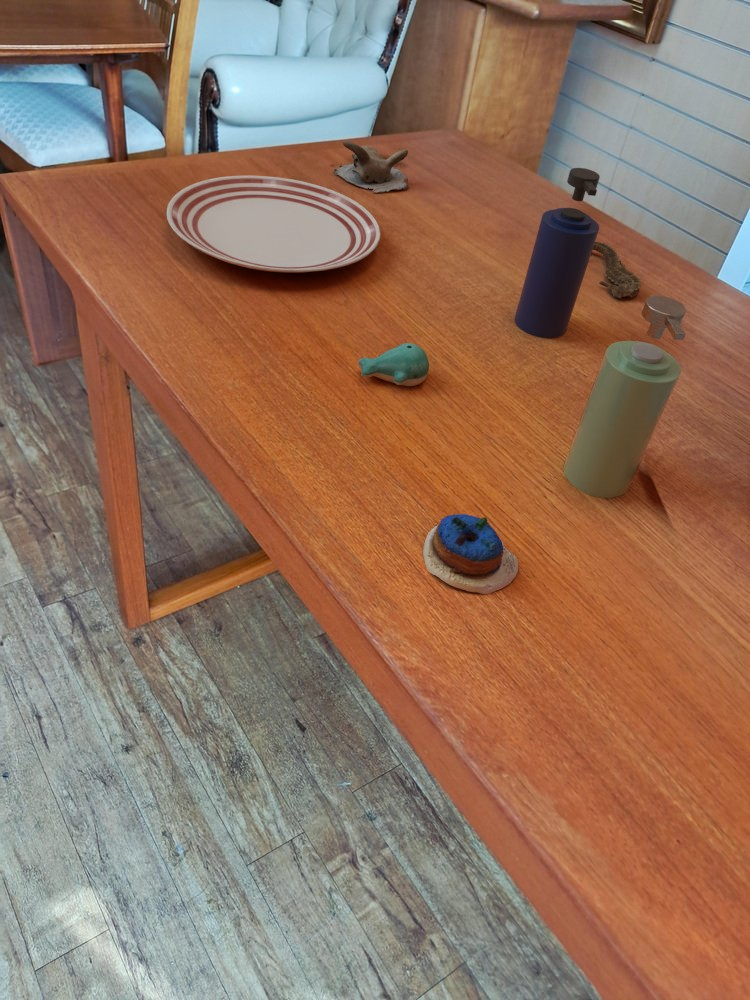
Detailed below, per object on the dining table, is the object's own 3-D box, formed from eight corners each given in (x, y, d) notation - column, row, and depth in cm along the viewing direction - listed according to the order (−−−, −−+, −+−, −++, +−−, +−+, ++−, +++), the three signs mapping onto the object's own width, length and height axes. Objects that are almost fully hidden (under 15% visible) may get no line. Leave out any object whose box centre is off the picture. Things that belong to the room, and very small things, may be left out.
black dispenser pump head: (588, 195, 87) (595, 169, 85) (600, 216, 83) (609, 189, 81) (560, 191, 87) (567, 166, 85) (571, 213, 83) (579, 186, 81)
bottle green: (619, 456, 78) (671, 333, 69) (637, 500, 74) (696, 375, 64) (556, 452, 78) (601, 327, 68) (571, 496, 73) (621, 368, 64)
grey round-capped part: (666, 327, 67) (678, 297, 65) (688, 363, 63) (702, 332, 61) (630, 323, 66) (641, 293, 64) (649, 360, 62) (662, 329, 60)
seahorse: (601, 248, 114) (604, 236, 113) (648, 301, 104) (652, 288, 103) (565, 251, 113) (568, 239, 112) (609, 304, 103) (613, 291, 102)
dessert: (402, 558, 64) (439, 494, 62) (426, 552, 70) (460, 494, 69) (486, 613, 61) (526, 548, 60) (503, 602, 67) (539, 543, 66)
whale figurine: (430, 393, 82) (437, 363, 80) (361, 392, 81) (365, 361, 79) (420, 362, 87) (426, 332, 84) (354, 361, 85) (358, 330, 83)
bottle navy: (560, 313, 99) (594, 203, 89) (571, 340, 94) (608, 227, 85) (510, 308, 98) (539, 197, 89) (519, 336, 94) (551, 221, 84)
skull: (415, 195, 123) (424, 155, 120) (352, 191, 117) (360, 150, 114) (382, 173, 130) (390, 135, 126) (321, 169, 124) (327, 129, 120)
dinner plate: (392, 219, 114) (396, 196, 111) (356, 309, 94) (359, 283, 91) (208, 183, 115) (208, 160, 113) (133, 265, 95) (131, 238, 93)
